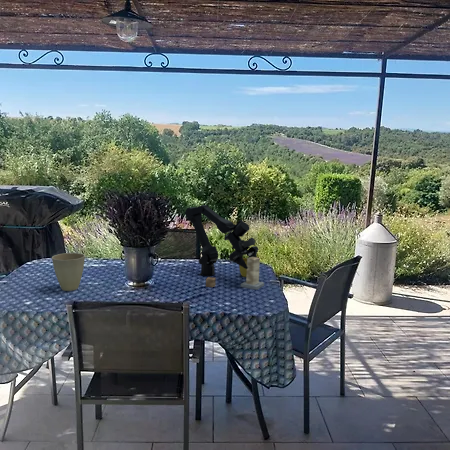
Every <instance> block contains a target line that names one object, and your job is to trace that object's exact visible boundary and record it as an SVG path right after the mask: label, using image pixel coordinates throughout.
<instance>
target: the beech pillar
mask: <svg viewBox="0 0 450 450" xmlns="http://www.w3.org/2000/svg"><path fill="white" fill-rule="evenodd" d="M246 258H247V267H248V269H247V277H245V278H246V279H245V281H246V283H247V284H251V285H255V284H258V283H259V282H260V263H261V260H260V259H261V258H259V257H258V256H257V257H249V258H248V257H246Z"/></svg>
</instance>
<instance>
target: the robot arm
mask: <svg viewBox="0 0 450 450" xmlns="http://www.w3.org/2000/svg"><path fill="white" fill-rule="evenodd" d="M184 214H185V217H186V219H187V220H188V222H190V223H191V224H192V225H193V228H194V230H195V233H196V235H197V238H198V241H199V243H200V246H201V257H200V258H199V260H198V264H199V265H200V267H201V269H200V271H201V272H200V273H199V276H206V277H211V276H213V275H216V272H215V267H216V266H215V264H216V263H217V261H218V258H219V251H218V249H217V246H216V245H214V246H213V245H212V244H211V241H210V239H209V237H208V234H207V232H206V230H205V227H204V225H203V222H202V217H203V216H205V217H206V218H207V219H209V220H210V221H211V222H213V224H215V225H216V229H218V231H219V232H220V233H222V234H225V235H224V238H223V240H224V241H228V242H229V243H230V245H231V250H233V251H232V252H231V253H230V254H229V255H228V260H229V262H232V263H235V264H237V265H238V266H239V265H240V266H242V267H243V268H245V269H248V267H247V265H246V263H245V261H244V260H243V258H244V256H246V257H247V258H249V257H257V258H258V252H259V250H260V249H259V247H258V246H256V240H255V238H254V237H250V238H248V239H247V240H245V239H241V238H242V237H244V236H245V235H246V233H248V232H249V231H250V224H248V223H247V222H245V221H243V220H242V219H240V220H238V222H237V223H236V224H235V223H234V222H233V221H231V220H230V219H227V218H224V217H222V216H220V215H219V214H218V213H217V212H215V211H214V210H213V209H212V208H211V207H209V205H206V204H202V205H198V206H193V207H187V208H186V209H185V213H184Z"/></svg>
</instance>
